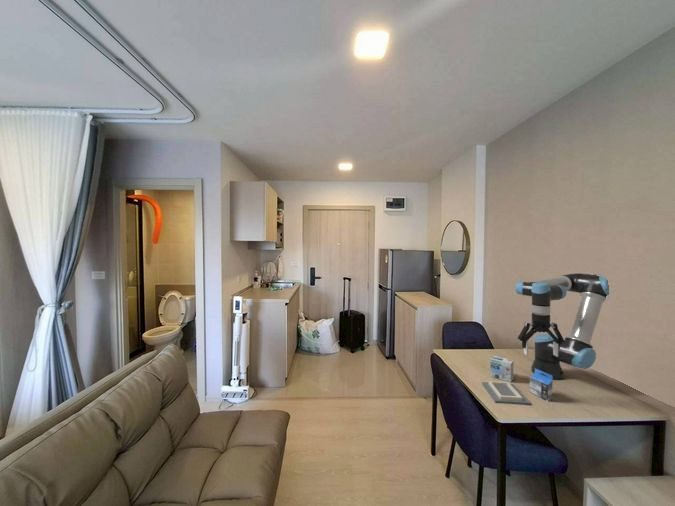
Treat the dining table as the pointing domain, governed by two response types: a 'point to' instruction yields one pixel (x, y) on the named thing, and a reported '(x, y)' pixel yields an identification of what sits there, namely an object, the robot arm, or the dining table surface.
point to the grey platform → (505, 393)
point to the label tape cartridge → (541, 385)
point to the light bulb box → (501, 368)
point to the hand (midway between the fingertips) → (540, 355)
